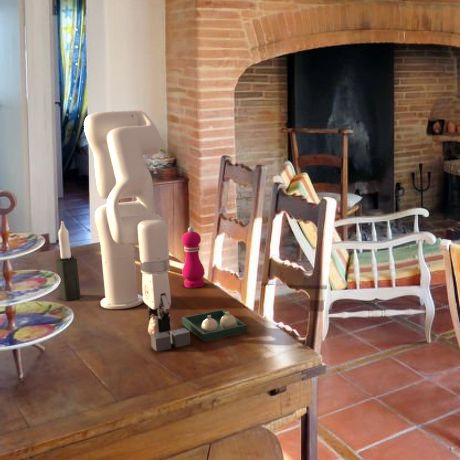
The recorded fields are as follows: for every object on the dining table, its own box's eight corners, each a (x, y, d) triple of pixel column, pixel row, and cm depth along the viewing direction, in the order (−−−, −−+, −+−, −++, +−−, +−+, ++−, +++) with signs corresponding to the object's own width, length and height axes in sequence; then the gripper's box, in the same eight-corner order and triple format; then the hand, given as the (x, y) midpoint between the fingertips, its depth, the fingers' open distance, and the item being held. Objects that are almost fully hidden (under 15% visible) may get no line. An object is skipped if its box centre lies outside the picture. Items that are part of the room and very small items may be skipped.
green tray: (182, 325, 230) (181, 317, 229) (223, 317, 237) (223, 308, 237) (203, 343, 217) (203, 334, 216) (247, 333, 224) (246, 324, 224)
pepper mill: (199, 289, 263) (195, 230, 258) (179, 287, 265) (175, 229, 260) (209, 282, 270) (205, 225, 265) (189, 281, 271) (185, 224, 267)
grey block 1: (151, 348, 213) (150, 334, 212) (166, 345, 215) (165, 331, 214) (156, 353, 210) (155, 339, 209) (171, 350, 212) (170, 336, 211)
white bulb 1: (199, 332, 223) (198, 315, 222) (214, 329, 225) (213, 311, 224) (205, 337, 219) (204, 319, 218) (220, 334, 222) (219, 316, 221)
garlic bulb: (144, 337, 221) (142, 309, 219) (166, 331, 225) (164, 304, 223) (154, 343, 216) (152, 316, 214) (176, 338, 221) (175, 310, 219)
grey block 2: (170, 344, 216) (169, 330, 215) (185, 341, 218) (184, 327, 217) (176, 349, 213) (175, 335, 212) (190, 345, 215) (189, 331, 214)
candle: (72, 294, 258) (65, 218, 252) (82, 297, 255) (74, 220, 249) (58, 298, 254) (49, 221, 248) (67, 301, 251) (59, 223, 245)
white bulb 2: (218, 328, 226) (217, 311, 225) (232, 325, 228) (231, 308, 227) (224, 333, 223) (223, 315, 221) (239, 330, 225) (238, 312, 224)
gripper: (131, 260, 221) (136, 321, 225) (151, 275, 207) (156, 339, 211) (158, 256, 225) (162, 315, 229) (180, 270, 211) (184, 334, 215)
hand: (159, 326), depth 220 cm, fingers closed on garlic bulb, 6 cm apart
